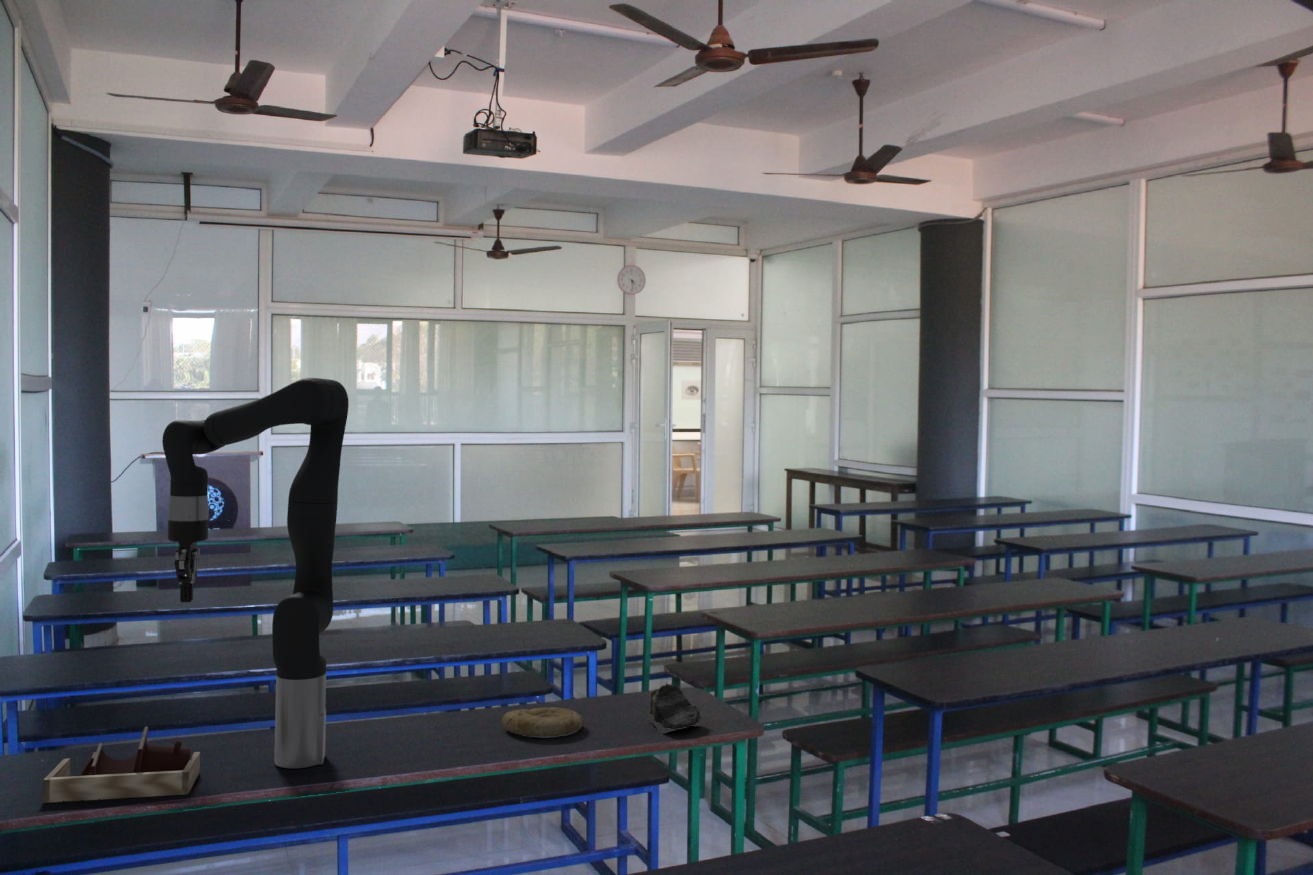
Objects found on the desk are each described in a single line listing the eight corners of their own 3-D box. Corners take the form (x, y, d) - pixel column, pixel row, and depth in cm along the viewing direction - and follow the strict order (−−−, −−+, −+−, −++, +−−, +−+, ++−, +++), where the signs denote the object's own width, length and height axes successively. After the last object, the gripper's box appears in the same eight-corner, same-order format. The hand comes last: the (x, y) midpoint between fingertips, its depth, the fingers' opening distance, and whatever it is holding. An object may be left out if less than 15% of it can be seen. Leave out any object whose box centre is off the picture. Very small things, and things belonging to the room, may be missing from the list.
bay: (199, 772, 189) (200, 751, 189) (187, 794, 179) (188, 771, 179) (63, 780, 184) (63, 758, 184) (43, 802, 173) (43, 779, 173)
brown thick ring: (546, 749, 210) (546, 727, 210) (495, 734, 219) (495, 713, 219) (597, 729, 224) (598, 709, 224) (548, 716, 233) (548, 696, 232)
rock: (644, 718, 233) (642, 679, 231) (689, 709, 236) (688, 670, 234) (663, 750, 220) (660, 709, 217) (710, 740, 223) (708, 700, 220)
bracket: (85, 764, 184) (95, 720, 181) (184, 774, 191) (195, 731, 188) (77, 788, 179) (87, 743, 176) (179, 796, 185) (191, 753, 182)
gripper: (202, 520, 200) (200, 607, 201) (213, 514, 213) (212, 595, 214) (161, 520, 199) (159, 608, 199) (175, 514, 211) (173, 596, 212)
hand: (186, 601), depth 206 cm, fingers closed
